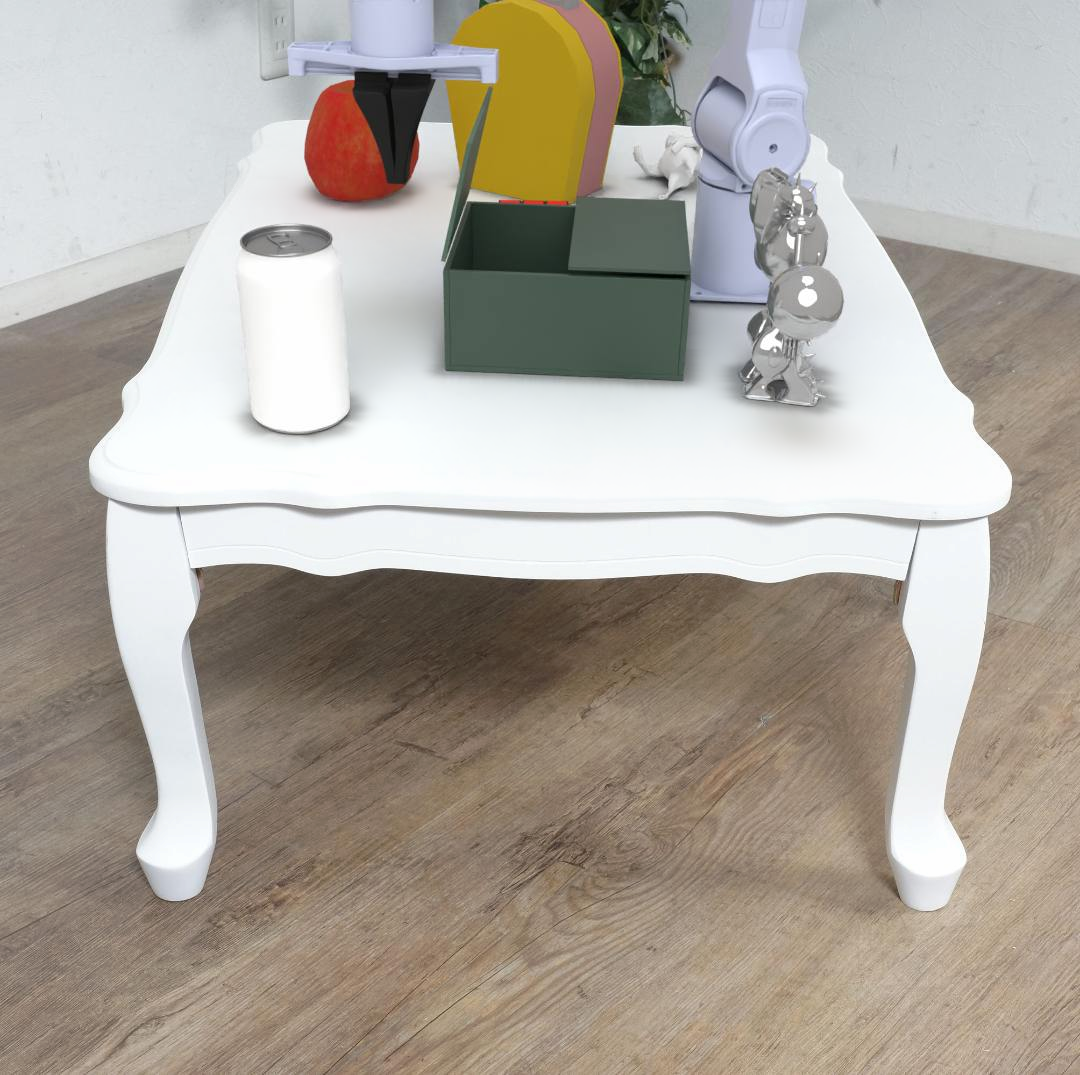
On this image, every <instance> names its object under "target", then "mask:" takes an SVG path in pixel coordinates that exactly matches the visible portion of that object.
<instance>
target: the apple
mask: <svg viewBox="0 0 1080 1075" xmlns="http://www.w3.org/2000/svg"><path fill="white" fill-rule="evenodd" d="M354 81H355V79H347V80H343V81H341V82H337V83H333V84H331V85H329V86H328V87H326V88H324V90H322V91H321V92H320V94H319V96H318V98H317V99H316V102H315V104H314V106H313V109H312V112H311V115H310V119H309V122H308V125H307V129H306V134H305V139H304V150H303V151H304V153H303V156H304V157H303V159H304V163H305V166H306V171H307V173H308V175H309V178H310V179H311V181H312V183H313V185H314V186H315V188H316V190H318V192H319V193H320V194H321V195H322V196H325V197H327V198H330V199H333V200H334V201H335V200H336V201H340V202H343V203H360V202H367V201H368V202H369V201H373V200H379V199H383V198H385V197H389V196H390V195H393V194H395V193H397V192H398V191H400V190H401V189H403V188H404V187H405V186H407V184H408V183H409V181H410V180H411V179H412V177H413V174H414V171H415V168H416V166H417V164H418V161H419V157H420V147H421V144H420V139H419V133H418V131H417V134H416V138H415V142H414V146H413V151H412V157H411V165H410V177H409V179H408V181H407V183H406V184H388V183H387V181H386V175H385V170H384V166H383V162H382V159H381V156H380V153H379V149H378V147H377V144H376V141H375V139H374V136H373V134H372V132H371V129H370V127H369V125H368V123H367V121H366V119H365V117H364V115H363V113H362V112H361V110H360V108H359V107H358V105H357V103H356V102H355V99H354V96H353V93H352V89H353V87H354Z"/></svg>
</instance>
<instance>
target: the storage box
mask: <svg viewBox="0 0 1080 1075" xmlns="http://www.w3.org/2000/svg"><path fill="white" fill-rule="evenodd" d="M688 232H689V231H688V221H687V209H686V201H685V200H680V199H679V200H678V199H677V200H675V199H662V200H659V199H653V198H651V199H650V198H649V199H647V198H626V197H624V198H622V197H601V196H600V197H599V196H598V197H597V196H584V197H577V200H576V201H575V204H569V205H555V204H529V203H503V202H499V201H477V200H476V201H474V200H473V201H472V200H467V201H466V204H465V207H464V209H463V212H462V215H461V218H460V221H459V224H458V227H457V230H456V232H455V235H454V238H453V241H452V244H451V247H450V250H449V253H448V256H447V258H446V261H445V263H444V264H445V265H444V267H443V270H442V285H443V286H442V287H443V288H442V289H443V291H442V292H443V294H442V295H443V329H444V330H443V331H444V333H443V334H444V370H445V371H455V372H456V371H457V372H458V371H459V372H482V373H500V374H502V373H503V374H505V373H506V374H522V375H523V374H525V375H544V376H545V375H548V376H568V377H569V376H570V377H592V378H611V379H612V378H613V379H614V378H616V379H617V378H618V379H636V380H637V379H639V380H661V381H682V382H683V381H684V373H685V363H686V362H685V361H686V352H687V351H686V350H687V340H688V339H687V338H688V326H689V314H690V302H691V300H690V292H691V265H690V260H691V254H690V244H689V243H690V242H689V233H688Z"/></svg>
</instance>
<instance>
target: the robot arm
mask: <svg viewBox="0 0 1080 1075" xmlns="http://www.w3.org/2000/svg"><path fill="white" fill-rule="evenodd" d="M807 3H808V0H732V4H731V9H730V16H729V22H728V27H727V28H728V29H727V35H726V41H725V42H724V44H723V46H721V48H720V49H719V50H718V51H717V52H716V54H714V57H713V58H712V59H711V60H710V61H711V62H710V63H709V71H708V76H707V80H706V82H705V85H704V86H703V89H702V90H701V91H700V93H699V95H698V97H697V98H696V99H695V101H694V104H693V106H692V110H691V115H690V128H691V133H692V136H694V139H695V141H696V142H697V144H698V145H699V146H700V147H701V149H702V154H701V158H702V161H701V163H700V166H699V172H698V174H697V175H698V176H697V184H696V196H695V197H696V198H695V208H694V209H695V210H694V222H693V232H692V245H691V246H692V247H691V255H690V265H691V292H690V301H706V302H707V301H709V302H710V301H711V302H732V303H753V304H754V303H757V304H758V303H759V304H767V297H768V291H769V285H770V280H768V278H767V277H766V276H765V275H764V273H763V271H762V270H760V269H759V268H758V267H757V265H756V264H755V259H754V245H755V242H756V237H755V232H754V225H753V223H752V221H751V218H750V212H749V202H750V196H751V190H752V186H753V183H754V181H755V179H756V178H757V176H758V173H760V172H761V171H763V170H766V169H768V168H773V167H777V168H779V169H780V170H781V171H783V172H784V173H786V174H787V175H789V177H788V182H789V183H790V184H792V185H793V186H794V185H795V183H796V182H797V179H798V177H795V176H796V175H797V174H799V172H800V171H801V169H802V168H803V166H804V164H805V163H806V161H807V159H808V156H809V153H810V149H811V142H812V141H811V139H812V138H811V130H810V126H809V123H808V122H809V121H808V119H807V102H808V97H809V87H808V83H807V80H806V77H805V73H804V70H803V68H802V64H801V62H800V58H799V53H798V52H799V49H800V48H799V47H800V42H801V38H802V37H801V36H802V30H803V26H804V21H805V15H806V9H807ZM434 4H435V3H434V0H348V5H349V6H348V8H349V23H350V40H331V41H329V40H328V41H293V42H292V43H290V44H289V45H288V46H287V47H286V58H287V70H288V76H289V77H295V78H296V77H298V78H299V77H301V78H302V77H305V76H306V75H308V76H310V75H313V76H337V77H339V76H340V77H342V76H343V77H354V80H355V81H354V87H353V89H352V93H353V96H354V99H355V102H356V103H357V105H358V107H359V108H360V110H361V112H362V113H363V115H364V117H365V119H366V121H367V123H368V125H369V127H370V129H371V132H372V134H373V136H374V139H375V141H376V144H377V147H378V149H379V153H380V156H381V159H382V162H383V166H384V170H385V175H386V181H387V183H388V184H406V183H407V184H408V182H409V181H408V179H409V177H410V165H411V157H412V151H413V146H414V142H415V138H416V134H417V132H418V130H419V127H420V123H421V120H422V117H423V114H424V111H425V108H426V106H427V103H428V100H429V99H430V96H431V94H432V91H433V88H434V86H435V83H436V82H437V81H436V80H443V81H446V80H471V81H481V83H485V84H496V83H497V81H498V78H499V50H498V49H486V48H475V47H466V46H458V45H450V44H451V43H450V44H449V43H441V42H435V9H434V8H435V7H434ZM800 179H801V186H804V187H806V188H808V189H809V188H810V187H811V186H813V185H814V184H815V183H816V182H815V181H814V180H811V179H803V178H800ZM407 181H408V182H407ZM407 184H406V185H407ZM812 194H813V195H814V201H815V204H816V205H817V187H816V186H815V188H814V190H813V192H812Z"/></svg>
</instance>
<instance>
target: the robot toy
mask: <svg viewBox="0 0 1080 1075" xmlns="http://www.w3.org/2000/svg"><path fill="white" fill-rule="evenodd" d="M788 177H789V175H787V174H786V173H784V172H783V171H781V170H780V169H779V168H777V167H773V168H768V169H766V170H763V171H761V172H760V173H758V176H757V178H756V179H755V181H754V183H753V186H752V190H751V196H750V202H749V212H750V218H751V221H752V223H753V225H754V232H755V237H756V242H755V245H754V259H755V264H756V265H757V267H758V268H759V269H760V270H762V271H763V273H764V275H765V276H766V277H767V278H768V280H770V285H769V291H768V297H767V303H766V308H765V309H762V310H760V311H758V312H757V313H755V314H754V315H753V316H752V317H751V318H750V320H749V321H748V323H747V326H746V336H747V339H748V342H749V344H750V345H751V347H752V349H751V358H750V359H749V360H747V362H746V363H745V364H744V365H743V366H742V367H739V368H738V369H737V373H738V375H739V377H740V380H741V381H742V382H745V383H744V384H743V385H742V386H741V389H742V397H743V398H745V399H748V400H756V401H764V402H777V403H781V404H789V405H795V406H803V407H815V406H816V405H817V403H818V401H819V399H826V398H827V396H826V395H824V394H822V392H821V391H818V387H819V386H820V385H821V384H823V383H824V382H825V381H824V380H821V379H819V380H816V376H815V375H814V374H813V373H812V371H816V370H818V369H819V368H818V367H815V366H812V365H810V362H809V361H810V360H811V359H813V358H814V357H815V356H816V354H817V353H815V352H814V353H810V354H806V355H805V354H804V353H803V352H802V351H803V349H804V346H805V344H806V345H807V346H811V345H812V341H811V340H816V339H817V340H818V339H819V338H820V337H822V336H825V335H827V334H828V333H829V332H831V331H832V329H833V328H834V327H835V326H836V325H837V324H838V321H839V320H840V318H841V316H842V314H843V311H844V310H843V309H844V303H845V299H844V290H843V287H842V286H841V283H840V282H839V280H838V278H837V277H836V276H835V275H834V274H833V273H832V272H831V271H830V270H828V269H827V268H824V267H823V266H824V264H825V261H826V258H827V255H828V254H827V253H828V245H829V244H828V240H829V234H828V230H827V227H826V225H825V222H824V221H823V219H822V218H821V216H820V215H819V214H818V210H819V207H818V205H817V203H816V204H815V201H814V195H813V194H812V192H813V190H814V188H815V187H816V186H817V185H818V181H816V182H814V183H815V184H814V185H813V186H811V187H810V188H809V189H808V188H806V187H804V186H801V179H802V178H801V172H800V171H799V172H798V175H797V182H796V183H795V185H794V186H793V185H792V184H790V183H789V182H788ZM802 341H803V342H802ZM777 380H779V381H784V383H785V385H786V387H785V388H781V390H780V391H779V393H778V395H777V396H776V394H775V393H776V392H775V388H774V387H773V386H769V385H770V383H772V382H774V381H777Z"/></svg>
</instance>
